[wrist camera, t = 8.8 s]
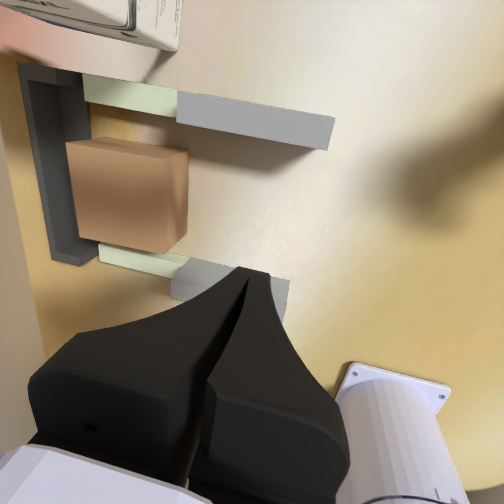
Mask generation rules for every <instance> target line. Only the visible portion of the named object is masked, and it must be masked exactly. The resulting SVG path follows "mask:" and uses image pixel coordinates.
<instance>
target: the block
mask: <svg viewBox="0 0 504 504" xmlns="http://www.w3.org/2000/svg"><path fill="white" fill-rule="evenodd" d="M65 144H66V151H67V157H68V164H69V170H70V177H71V183H72V190H73V196H74V203H75V209H76V216H77V222H78V229H79V235H80V237H82V238H87V239H91V240H96V241H101V242H106V243H110V244H115V245H120V246H125V247H130V248H134V249H139V250H144V251H149V252H154V253H158V254H163V255H165V254H166V253H167V252H168V251H169V250H170V249H171V248H172V247H173V246H174V245H175V244H176V243H177V242H178V241H179V240H180V239H181V238H182V237H183V236H184V235H185V234H186V233H187V215H188V180H189V151H187V150H181V149H175V148H169V147H163V146H157V145H151V144H145V143H139V142H133V141H127V140H120V139H114V138H108V137H104V138H97V139H89V140H81V141H74V142H66V143H65Z"/></svg>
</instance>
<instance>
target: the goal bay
mask: <svg viewBox="0 0 504 504" xmlns="http://www.w3.org/2000/svg"><path fill="white" fill-rule="evenodd" d="M82 75H83V86H84V97H85V101H88V102H93V103H98V104H104V105H109V106H115V107H120V108H125V109H131V110H136V111H141V112H147V113H152V114H157V115H163V116H168V117H174V118H176V117H177V90H176V89H171V88H165V87H159V86H154V85H148V84H142V83H137V82H130V81H125V80H120V79H114V78H108V77H103V76H97V75H91V74H85V73H82ZM178 91H182V90H178ZM185 92H188V91H185ZM192 93H193V92H192ZM98 247H99V258H100V261H102V262H106V263H110V264H114V265H118V266H122V267H126V268H131V269H135V270H139V271H143V272H147V273H151V274H155V275H159V276H164V277H168V278H173V277H174V276H175V275H176V273H177V272H178V271H179V270H180V269H181V268H182V266H183V265H184V264H185V263H186V262H187V260H188V259H189V258H190V257H185V256H181V255H177V254H173V253H168V252H167V253H166V254H165V255H163V254H158V253H154V252H149V251H144V250H139V249H134V248H130V247H125V246H120V245H115V244H110V243H106V242H101V243H100V244H98Z"/></svg>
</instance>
